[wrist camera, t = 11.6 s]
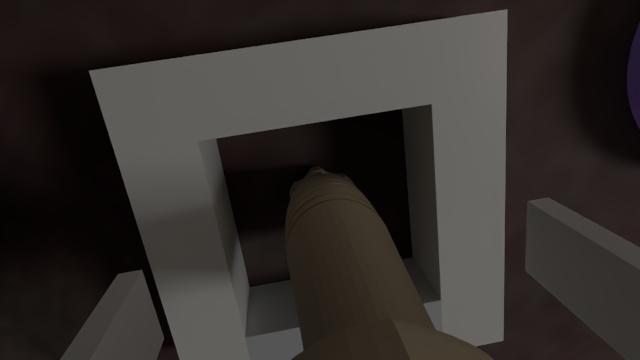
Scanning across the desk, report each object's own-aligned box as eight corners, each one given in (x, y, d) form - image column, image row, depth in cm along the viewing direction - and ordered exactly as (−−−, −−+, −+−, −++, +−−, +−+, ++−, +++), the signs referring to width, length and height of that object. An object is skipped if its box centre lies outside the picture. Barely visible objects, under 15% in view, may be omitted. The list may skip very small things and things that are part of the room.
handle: (324, 264, 22) (419, 666, 8) (241, 179, 20) (166, 514, 6) (395, 208, 21) (638, 532, 7) (317, 115, 19) (440, 310, 5)
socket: (206, 342, 23) (193, 402, 19) (127, 65, 18) (88, 70, 14) (466, 293, 24) (503, 340, 20) (459, 16, 19) (507, 9, 15)
